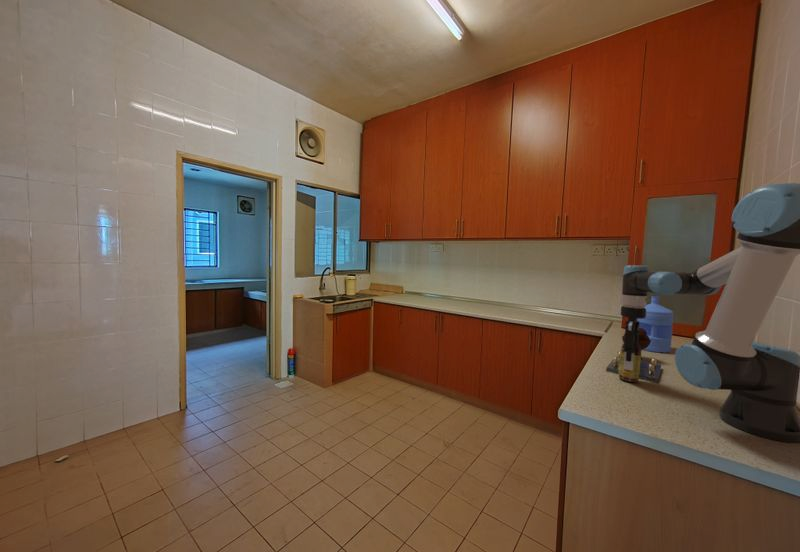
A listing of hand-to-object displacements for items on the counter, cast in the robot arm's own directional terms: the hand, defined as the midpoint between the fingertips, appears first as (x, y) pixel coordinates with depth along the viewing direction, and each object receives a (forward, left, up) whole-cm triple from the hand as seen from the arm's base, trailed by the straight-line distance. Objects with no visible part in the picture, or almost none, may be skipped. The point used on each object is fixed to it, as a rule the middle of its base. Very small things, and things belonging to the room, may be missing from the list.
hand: (629, 367), depth 116 cm
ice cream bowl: (+38, +2, -5) cm, 39 cm away
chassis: (+17, 0, -5) cm, 18 cm away
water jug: (+66, -2, -6) cm, 66 cm away
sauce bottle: (0, 0, -5) cm, 5 cm away
